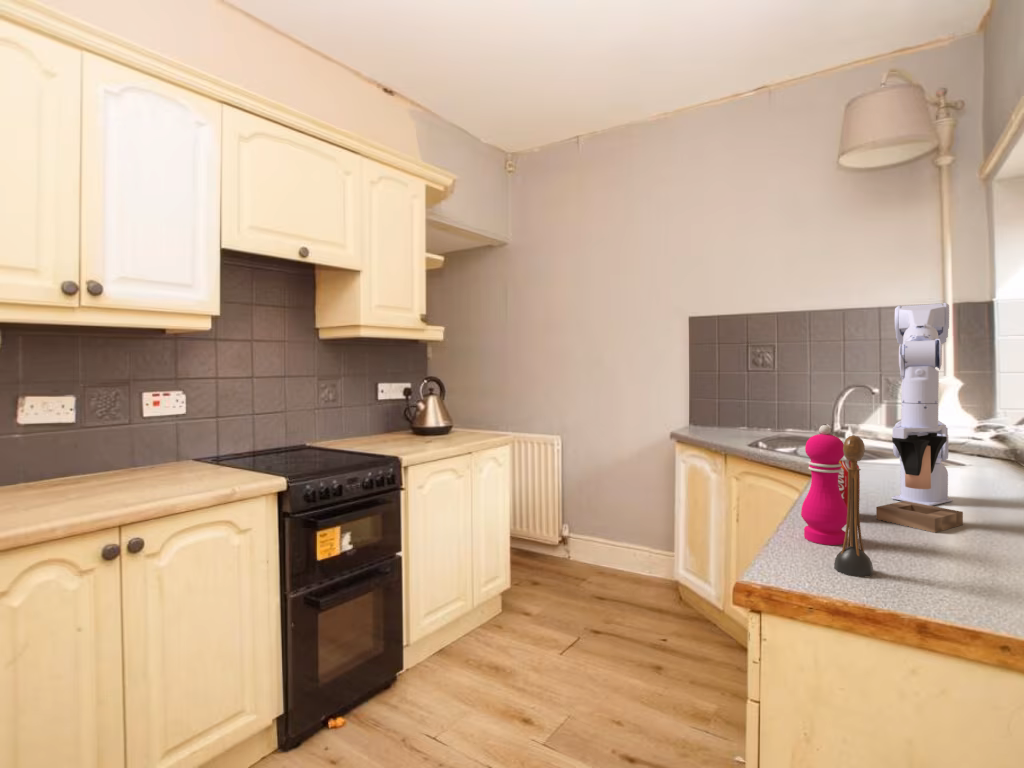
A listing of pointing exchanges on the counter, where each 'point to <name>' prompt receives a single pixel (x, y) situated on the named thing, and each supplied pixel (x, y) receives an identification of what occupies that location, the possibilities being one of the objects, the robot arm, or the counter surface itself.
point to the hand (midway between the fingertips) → (919, 473)
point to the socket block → (920, 516)
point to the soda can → (845, 479)
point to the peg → (921, 473)
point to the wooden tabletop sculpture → (853, 517)
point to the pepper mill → (824, 490)
